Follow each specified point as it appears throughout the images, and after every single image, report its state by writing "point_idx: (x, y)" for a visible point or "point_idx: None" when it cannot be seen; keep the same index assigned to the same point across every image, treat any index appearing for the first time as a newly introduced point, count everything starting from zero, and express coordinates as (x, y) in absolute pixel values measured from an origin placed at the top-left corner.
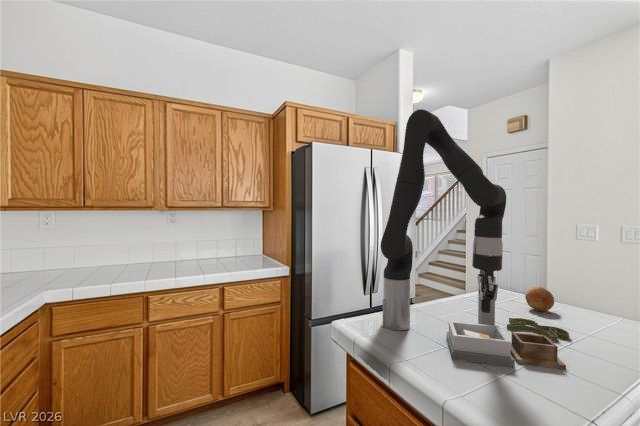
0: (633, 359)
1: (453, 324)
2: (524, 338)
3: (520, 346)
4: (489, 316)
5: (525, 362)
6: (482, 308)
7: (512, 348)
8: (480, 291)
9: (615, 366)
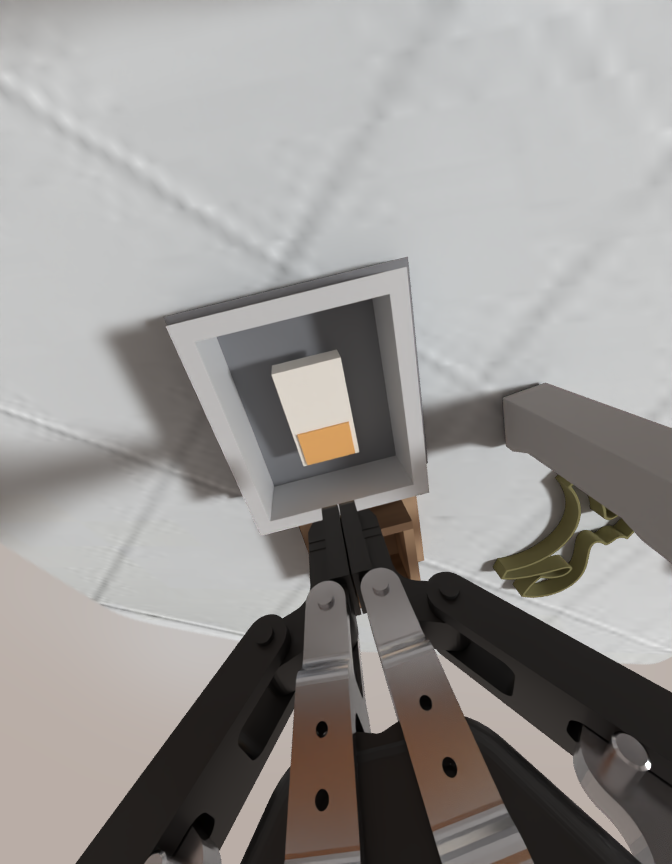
0: None
1: (386, 299)
2: (402, 540)
3: None
4: (554, 453)
5: None
6: (324, 525)
7: None
8: (405, 621)
9: None
